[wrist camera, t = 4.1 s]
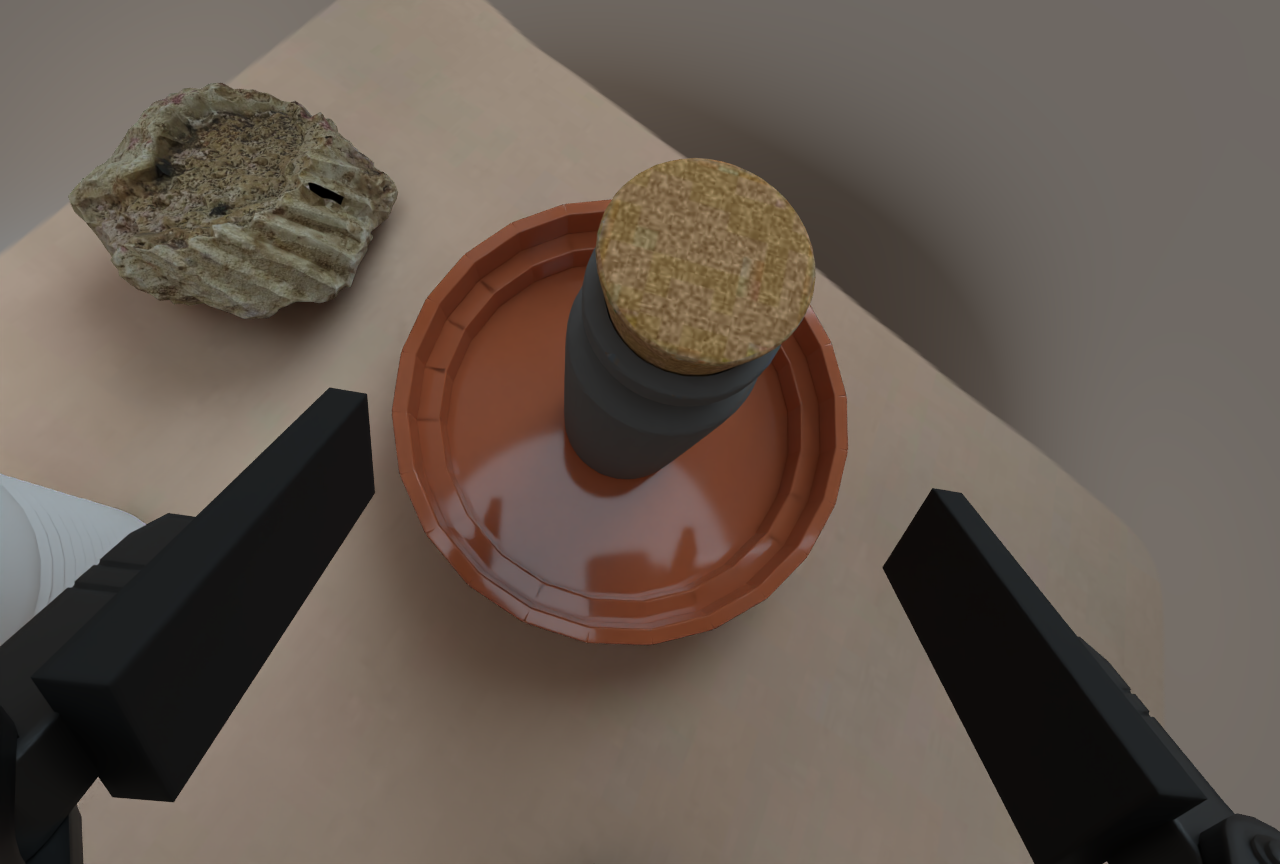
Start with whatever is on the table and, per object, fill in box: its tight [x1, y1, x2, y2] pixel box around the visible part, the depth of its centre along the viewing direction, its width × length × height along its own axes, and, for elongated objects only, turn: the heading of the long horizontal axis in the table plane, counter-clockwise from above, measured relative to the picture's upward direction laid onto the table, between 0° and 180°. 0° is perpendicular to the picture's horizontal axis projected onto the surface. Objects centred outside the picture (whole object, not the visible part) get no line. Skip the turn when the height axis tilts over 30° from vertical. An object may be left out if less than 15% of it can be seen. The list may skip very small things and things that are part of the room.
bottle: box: [564, 158, 815, 479], centre depth 18 cm, size 6×6×15 cm
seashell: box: [68, 83, 398, 319], centre depth 23 cm, size 11×7×10 cm
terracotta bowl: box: [392, 200, 848, 645], centre depth 24 cm, size 19×19×4 cm
